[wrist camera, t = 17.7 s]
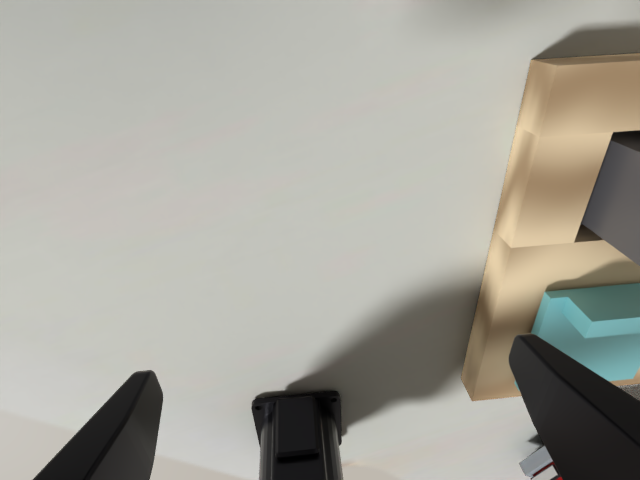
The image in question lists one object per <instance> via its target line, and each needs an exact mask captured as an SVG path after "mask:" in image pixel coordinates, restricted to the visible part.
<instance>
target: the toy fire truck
mask: <svg viewBox="0 0 640 480" xmlns="http://www.w3.org/2000/svg"><path fill="white" fill-rule="evenodd" d="M519 464H520V466H521V468H522V470H523V472H524V474H525V476H529V477H532V478H531V480H563V479H562V477H561V476H560V474H559V472H558V470H557V468H556V466H555V464H554V462H553V460H552V459H551V457H550V455H549V453H548V451H547V449H546V447H545V446H543V447H542V448H540V449H539V450H537V451H536V452H535V453H533V454H532V455H530V456H529V457H527V458H526V459H524V460H523V461H522V462H520V463H519Z"/></svg>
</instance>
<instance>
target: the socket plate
mask: <svg viewBox="0 0 640 480" xmlns="http://www.w3.org/2000/svg"><path fill="white" fill-rule="evenodd" d="M636 131H640V53H633V54H616V55H600V56H584V57H567V58H551V59H534V60H531V63H530V67H529V72H528V76H527V81H526V85H525V90H524V95H523V99H522V104H521V108H520V113H519V117H518V122H517V126H516V131H515V135H514V140H513V144H512V149H511V153H510V158H509V162H508V167H507V171H506V176H505V180H504V185H503V190H502V194H501V199H500V203H499V208H498V212H497V217H496V221H495V226H494V230H493V235H492V239H491V244H490V248H489V253H488V257H487V262H486V266H485V271H484V275H483V280H482V285H481V289H480V294H479V298H478V303H477V307H476V312H475V316H474V321H473V325H472V330H471V334H470V339H469V343H468V348H467V352H466V357H465V361H464V366H463V370H462V375H461V379H462V382H463V384H464V386H465V388H466V390H467V392H468V394H469V396H470V398H471V400H472V401H478V400H488V399H497V398H507V397H517V396H522V395H521V393H520V391H519V390H518V389H517V387H516V385H515V384H514V382H515V378H514V375H513V373H512V371H511V368H510V365H509V354H510V350H511V347H512V344H513V340H514V338H515V336H516V335H518V334H528V333H531V331H532V328H533V325H534V322H535V319H536V316H537V313H538V310H539V307H540V304H541V301H542V298H543V295H544V292H547V291H558V290H569V289H580V288H590V287H601V286H612V285H623V284H634V283H640V266H639V265H637V264H636V263H635V262H633V261H632V260H631V259H629V258H628V257H627V256H625V255H624V254H623V253H621V252H620V251H618V250H617V249H616V248H614V247H613V246H612V245H610V244H609V243H608V242H606V241H605V240H603V239H602V238H601V237H599V236H598V235H597V234H595V233H594V232H593V231H591V230H590V229H589V228H587V227H586V226H584V225H583V224H582V223H581V221H582V218H583V216H584V213H585V210H586V207H587V204H588V201H589V199H590V196H591V193H592V190H593V187H594V185H595V182H596V179H597V176H598V173H599V170H600V168H601V165H602V162H603V159H604V156H605V153H606V151H607V148H608V145H609V142H610V139H611V136H612V134H613V133H622V132H636ZM609 382H611V383H612V384H614V385H615V386H622V385H631V384H640V367H639V369H638V371H637V373H636V374H635V376H634V378H633V379H626V380H616V381H609Z"/></svg>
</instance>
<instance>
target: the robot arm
mask: <svg viewBox="0 0 640 480" xmlns="http://www.w3.org/2000/svg"><path fill="white" fill-rule="evenodd" d="M509 365H510V368H511V371H512V373H513V375H514V378H515V380H516V383H517V385H518V388H519V390H520V393H521V395H522V398H523V400H524V403H525V405H526V408H527V410H528V412H529V415H530V417H531V419H532V422H533V424H534V426H535V428H536V430H537V432H538V434H539V436H540V438H541V440H542V442H543V443H544V445H545V447H546V449H547V451H548V453H549V455H550V457H551V459H552V460H553V462H554V464H555V466H556V468H557V470H558V472H559V474H560V476H561V477H562V479H563V480H640V401H639V400H637V399H636V398H634V397H633V396H631V395H629V394H628V393H626V392H625V391H623V390H622V389H620V388H618V387H617V386H615V385H614V384H612V383H611V382H609V381H607V380H606V379H604V378H603V377H601V376H600V375H598V374H596V373H595V372H593V371H592V370H590V369H589V368H587V367H586V366H584V365H582V364H581V363H579V362H578V361H576V360H575V359H573V358H571V357H570V356H568V355H567V354H565V353H564V352H562V351H560V350H559V349H557V348H556V347H554V346H553V345H551V344H549V343H548V342H546V341H545V340H543V339H542V338H540V337H538V336H537V335H535V334H532V333H528V334H518V335H516V336H515V338H514V340H513V344H512V347H511V350H510V354H509ZM162 403H163V393H162V389H161V387H160V384H159V382H158V379H157V377H156V374H155V373H154V372H153V371H152V370H147V371H138V372H135V373H134V374H132V375H131V376H130V377H129V379H128V380H127V381H126V382H125V383H124V384H123V385H122V386H121V387H120V388H119V389H118V390H117V391H116V392H115V393H114V394H113V395H112V396H111V397H110V399H109V400H108V401H107V402H106V403H105V404H104V405H103V406H102V407H101V408H100V409H99V410H98V411H97V412H96V413H95V414H94V415H93V416H92V418H91V419H90V420H89V421H88V422H87V423H86V424H85V425H84V426H83V427H82V428H81V429H80V430H79V431H78V432H77V433H76V435H74V437H73V438H72V439H71V440H70V441H69V442H68V443H67V444H66V445H65V446H64V447H63V448H62V449H61V450H60V451H59V452H58V453H57V454H56V456H55V457H54V458H53V459H52V460H51V461H50V462H49V463H48V464H47V465H46V466H45V467H44V468H43V469H42V470H41V472H39V473H38V475H37V476H36V477H35V478H34V479H33V480H149V479H150V475H151V471H152V467H153V462H154V456H155V450H156V443H157V436H158V430H159V423H160V417H161V410H162ZM252 413H253V417H254V422H255V426H256V431H257V435H258V440H259V444H260V470H259V480H343V474H342V466H341V458H340V451H339V445H341V443H342V440H341V402H340V394H339V393H338V392H336V391H330V392H320V393H310V394H300V395H291V396H281V397H271V398H261V399H255V400H253V402H252Z"/></svg>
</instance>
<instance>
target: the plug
mask: <svg viewBox="0 0 640 480" xmlns="http://www.w3.org/2000/svg"><path fill="white" fill-rule="evenodd" d="M581 223H582V224H583V225H584V226H586V227H587V228H589V229H590V230H591V231H593V232H594V233H595V234H597V235H598V236H599V237H601V238H602V239H603V240H605V241H606V242H608V243H609V244H610V245H612V246H613V247H614V248H616V249H617V250H618V251H620V252H621V253H623V254H624V255H625V256H627V257H628V258H629V259H631V260H632V261H633V262H635V263H636V264H637V265H639V266H640V131H636V132H622V133H613V134H612V136H611V139H610V142H609V145H608V148H607V151H606V153H605V156H604V159H603V162H602V165H601V168H600V170H599V173H598V176H597V179H596V182H595V185H594V187H593V190H592V193H591V196H590V199H589V201H588V204H587V207H586V210H585V213H584V216H583V218H582V221H581Z"/></svg>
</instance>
